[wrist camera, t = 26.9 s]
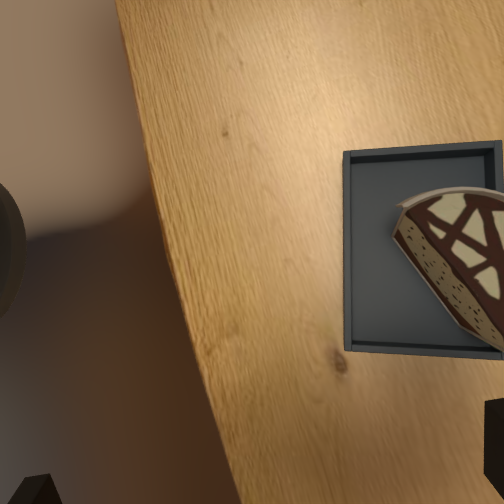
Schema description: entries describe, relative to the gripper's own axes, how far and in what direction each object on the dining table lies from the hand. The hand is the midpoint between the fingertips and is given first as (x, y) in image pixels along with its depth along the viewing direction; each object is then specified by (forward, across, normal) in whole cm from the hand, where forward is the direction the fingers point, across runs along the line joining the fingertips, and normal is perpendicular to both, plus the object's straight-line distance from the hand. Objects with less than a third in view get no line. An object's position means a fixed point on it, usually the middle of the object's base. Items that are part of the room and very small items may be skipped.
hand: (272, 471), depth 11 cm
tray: (+21, +14, -2) cm, 26 cm away
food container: (+20, +17, -2) cm, 26 cm away
